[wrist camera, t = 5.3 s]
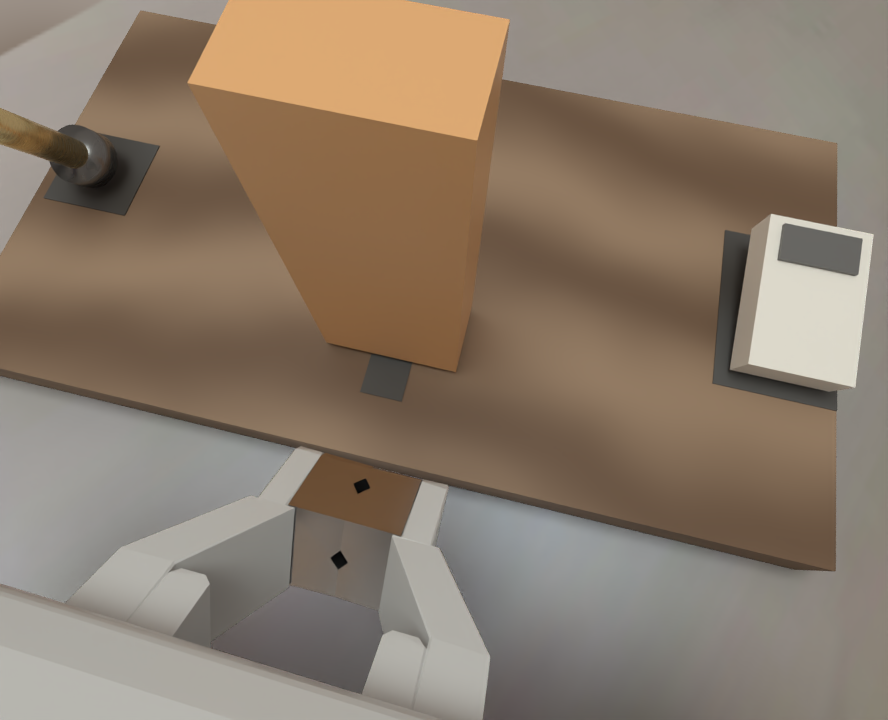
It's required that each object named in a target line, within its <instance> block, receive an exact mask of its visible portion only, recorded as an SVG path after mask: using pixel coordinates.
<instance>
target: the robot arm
mask: <svg viewBox="0 0 888 720" xmlns="http://www.w3.org/2000/svg"><path fill="white" fill-rule="evenodd" d="M448 489H449V487H448V485H445V484H441V483H437V482H433V481H429V480H421V479H418V478H414V477H410V476H406V475H402V474H398V473H395V472H391V471H387V470H383V469H379V468H375V467H373V466H369V465H366V464H362V463H359V462H355V461H352V460H349V459H345V458H342V457H338V456H335V455H331V454H328V453H323V452H320V451H316V450H313V449H309V448H306V447H302V446H300V447H298V448H296V449H295V450H294V451H293V452H292V454H291V455H290V456H289V458H288V459H287V460H286V461H285V463H284V464H283V465H282V467H281V468H280V469H279V471H278V472H277V473H276V474H275V476H274V477H273V478H272V480H271V481H270V482H269V484H268V485H267V486H266V487H265V489H264V490H263V491H262V493H261V494H260V495H259V497H254V496H248V497H245V498H243V499H240V500H238V501H235V502H233V503H230V504H228V505H225V506H223V507H220V508H218V509H215V510H213V511H210V512H208V513H205V514H203V515H200V516H198V517H195V518H193V519H190V520H188V521H185V522H183V523H180V524H178V525H175V526H173V527H170V528H168V529H165V530H163V531H160V532H158V533H155V534H153V535H150V536H148V537H145V538H143V539H140V540H138V541H135V542H133V543H130V544H128V545H125V546H123V547H120V548H119V549H118V550H117V551H116V552H115V553H114V554H113V555H112V556H111V557H110V558H109V559H108V560H107V561H106V562H105V563H104V564H103V565H102V566H101V567H100V568H99V569H98V570H97V571H96V572H95V574H94V575H93V576H92V577H91V578H90V579H89V580H88V581H87V582H86V583H85V584H84V585H83V586H82V587H81V588H80V589H79V590H78V591H77V592H76V593H75V594H74V595H73V596H72V597H71V598H70V599H69V600H68V601H67V602H66V603H62V602H59V601H56V600H52V599H49V598H46V597H42V596H39V595H36V594H33V593H29V592H26V591H23V590H20V589H16V588H13V587H10V586H7V585H3V584H0V720H483V713H484V705H485V697H486V689H487V680H488V672H489V664H490V655H489V653H488V651H487V649H486V647H485V644H484V642H483V640H482V638H481V636H480V634H479V631H478V629H477V627H476V625H475V623H474V621H473V619H472V616H471V614H470V612H469V610H468V608H467V606H466V603H465V601H464V599H463V597H462V595H461V593H460V591H459V588H458V586H457V584H456V582H455V580H454V578H453V575H452V573H451V571H450V569H449V567H448V565H447V563H446V560H445V558H444V556H443V554H442V552H441V550H440V548H438V547H435V546H436V542H437V537H438V533H439V529H440V524H441V520H442V516H443V512H444V507H445V503H446V499H447V494H448ZM289 585H292V586H295V587H299V588H303V589H307V590H311V591H315V592H319V593H322V594H326V595H330V596H334V597H337V598H340V599H343V600H346V601H349V602H353V603H356V604H359V605H362V606H365V607H368V608H371V609H374V610H377V611H379V613H378V614H379V618H380V622H381V626H382V631H383V635H382V638H381V641H380V644H379V646H378V649H377V652H376V655H375V658H374V661H373V663H372V666H371V669H370V672H369V675H368V678H367V680H366V683H365V686H364V689H363V692H362V694H358V693H355V692H352V691H349V690H345V689H342V688H339V687H336V686H332V685H329V684H326V683H323V682H319V681H316V680H313V679H309V678H306V677H303V676H300V675H296V674H293V673H290V672H287V671H283V670H280V669H277V668H274V667H270V666H267V665H264V664H261V663H257V662H254V661H251V660H248V659H244V658H241V657H238V656H235V655H231V654H228V653H225V652H222V651H218V650H215V649H212V648H211V641H212V640H214V639H215V638H217V637H218V636H220V635H221V634H223V633H224V632H226V631H227V630H228V629H230V628H231V627H233V626H234V625H236V624H237V623H239V622H240V621H241V620H243V619H244V618H246V617H247V616H249V615H250V614H252V613H253V612H255V611H256V610H257V609H259V608H260V607H262V606H263V605H265V604H266V603H268V602H269V601H270V600H272V599H273V598H275V597H276V596H278V595H279V594H281V593H282V592H284V591H285V590H286V589H288V588H289Z"/></svg>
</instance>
